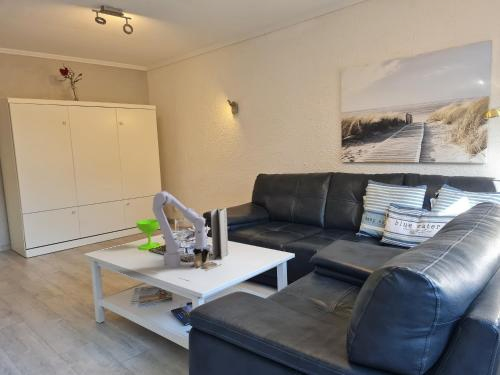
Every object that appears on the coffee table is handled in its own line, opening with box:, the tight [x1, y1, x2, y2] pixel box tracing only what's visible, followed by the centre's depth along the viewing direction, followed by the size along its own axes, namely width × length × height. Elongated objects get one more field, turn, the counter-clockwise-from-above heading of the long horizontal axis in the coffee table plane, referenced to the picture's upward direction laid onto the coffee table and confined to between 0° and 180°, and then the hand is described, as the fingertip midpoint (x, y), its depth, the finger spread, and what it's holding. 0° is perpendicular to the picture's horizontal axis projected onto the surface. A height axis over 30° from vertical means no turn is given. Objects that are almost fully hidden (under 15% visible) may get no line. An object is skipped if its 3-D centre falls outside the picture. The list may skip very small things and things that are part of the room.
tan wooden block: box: [193, 252, 210, 268], centre depth 207 cm, size 3×9×7 cm, turn 142°
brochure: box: [210, 207, 229, 260], centre depth 222 cm, size 14×6×30 cm, turn 168°
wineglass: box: [136, 218, 163, 251], centre depth 254 cm, size 16×16×18 cm
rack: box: [190, 261, 222, 272], centre depth 205 cm, size 12×15×2 cm
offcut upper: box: [201, 261, 218, 270], centre depth 204 cm, size 4×8×1 cm, turn 150°
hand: (201, 261), depth 207 cm, fingers closed on tan wooden block, 3 cm apart
